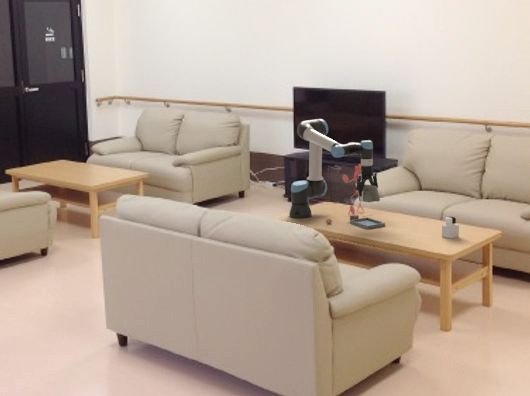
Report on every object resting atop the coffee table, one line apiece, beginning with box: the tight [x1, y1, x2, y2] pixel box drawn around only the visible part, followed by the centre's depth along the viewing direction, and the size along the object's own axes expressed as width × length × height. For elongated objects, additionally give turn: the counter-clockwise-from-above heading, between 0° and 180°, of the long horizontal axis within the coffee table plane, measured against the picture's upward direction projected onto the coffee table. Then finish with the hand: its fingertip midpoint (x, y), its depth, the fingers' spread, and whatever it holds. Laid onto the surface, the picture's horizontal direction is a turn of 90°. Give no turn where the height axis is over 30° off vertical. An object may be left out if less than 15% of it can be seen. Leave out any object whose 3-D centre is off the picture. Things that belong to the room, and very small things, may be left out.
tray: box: [349, 216, 386, 230], centre depth 504 cm, size 13×19×2 cm
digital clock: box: [358, 183, 381, 203], centre depth 500 cm, size 16×9×11 cm, turn 30°
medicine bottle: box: [441, 216, 460, 240], centre depth 467 cm, size 7×7×12 cm
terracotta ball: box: [325, 217, 333, 225], centre depth 511 cm, size 4×4×4 cm
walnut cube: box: [349, 214, 360, 221], centre depth 515 cm, size 4×4×4 cm
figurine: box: [342, 163, 373, 217], centre depth 530 cm, size 15×26×35 cm, turn 135°
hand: (367, 200), depth 501 cm, fingers closed on digital clock, 8 cm apart
